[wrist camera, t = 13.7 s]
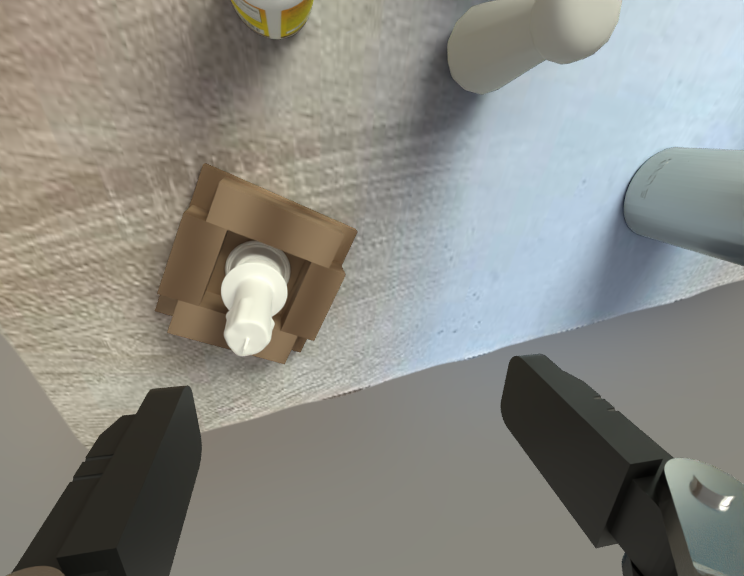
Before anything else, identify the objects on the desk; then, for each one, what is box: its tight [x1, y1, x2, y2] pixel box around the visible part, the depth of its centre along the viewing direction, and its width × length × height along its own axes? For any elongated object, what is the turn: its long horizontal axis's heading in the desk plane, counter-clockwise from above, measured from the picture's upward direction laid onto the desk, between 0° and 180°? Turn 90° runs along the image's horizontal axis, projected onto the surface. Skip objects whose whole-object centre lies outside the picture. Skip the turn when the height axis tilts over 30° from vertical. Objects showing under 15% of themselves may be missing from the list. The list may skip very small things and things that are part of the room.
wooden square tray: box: [155, 163, 357, 364], centre depth 30 cm, size 13×13×4 cm
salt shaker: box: [447, 0, 622, 95], centre depth 24 cm, size 6×6×13 cm
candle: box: [221, 240, 291, 357], centre depth 26 cm, size 5×5×12 cm
